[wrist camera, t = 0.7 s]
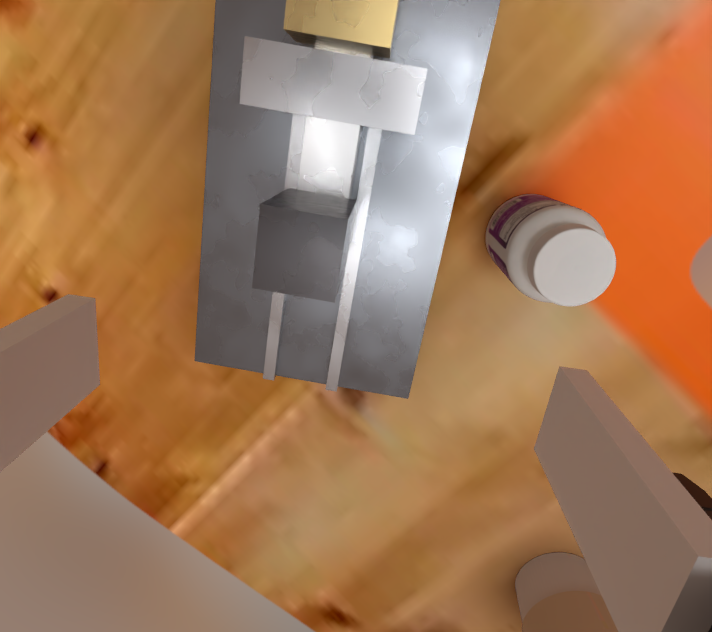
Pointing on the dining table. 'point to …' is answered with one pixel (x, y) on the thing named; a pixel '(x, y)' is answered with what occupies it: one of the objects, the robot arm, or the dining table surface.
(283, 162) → the slotted base plate
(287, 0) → the block
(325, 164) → the sliding bolt with handle
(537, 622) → the coffee cup
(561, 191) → the dining table surface
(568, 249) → the pill bottle
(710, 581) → the robot arm
